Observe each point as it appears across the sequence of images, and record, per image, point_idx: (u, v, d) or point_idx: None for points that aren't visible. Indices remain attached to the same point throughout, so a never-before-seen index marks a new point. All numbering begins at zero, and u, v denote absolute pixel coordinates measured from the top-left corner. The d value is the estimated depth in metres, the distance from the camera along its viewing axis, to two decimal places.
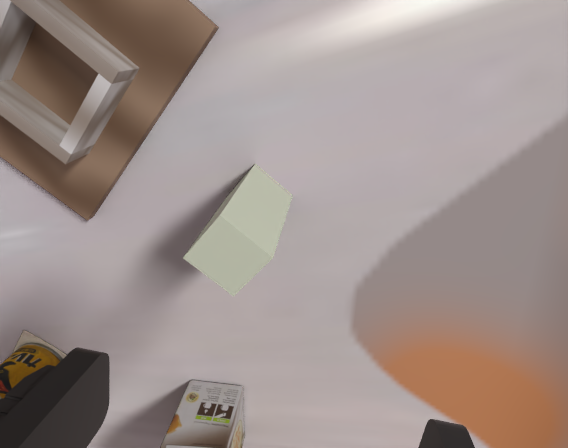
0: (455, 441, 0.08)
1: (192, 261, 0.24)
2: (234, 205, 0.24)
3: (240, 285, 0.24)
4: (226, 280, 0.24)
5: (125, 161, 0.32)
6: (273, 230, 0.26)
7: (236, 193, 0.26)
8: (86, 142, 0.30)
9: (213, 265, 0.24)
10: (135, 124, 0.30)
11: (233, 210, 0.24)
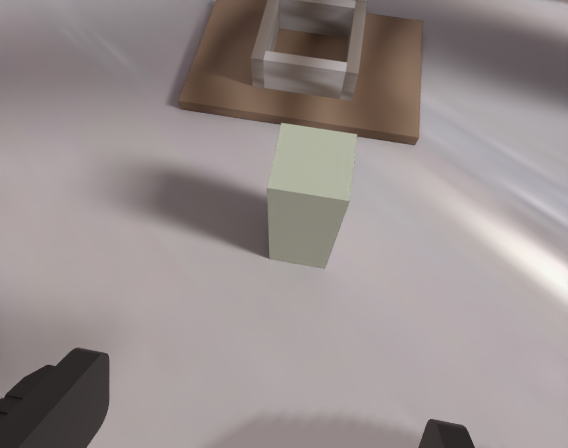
0: (455, 441, 0.08)
1: (284, 132, 0.20)
2: None
3: (287, 187, 0.19)
4: (284, 171, 0.19)
5: (264, 113, 0.32)
6: None
7: None
8: (272, 74, 0.32)
9: (294, 152, 0.20)
10: (304, 111, 0.32)
11: None
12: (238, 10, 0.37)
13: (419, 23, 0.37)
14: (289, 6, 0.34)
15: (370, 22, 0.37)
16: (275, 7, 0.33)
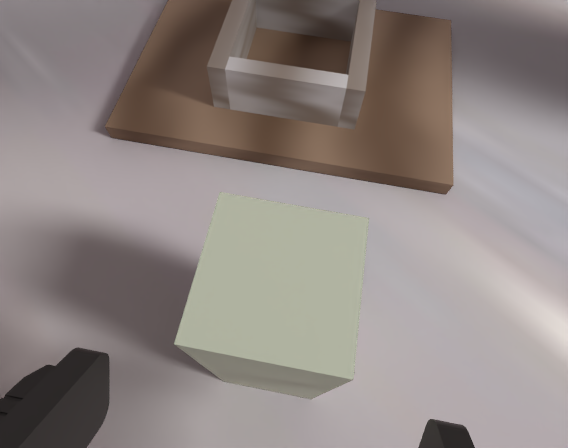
0: (455, 441, 0.08)
1: (223, 212, 0.10)
2: None
3: (219, 344, 0.09)
4: (215, 303, 0.09)
5: (227, 146, 0.22)
6: None
7: None
8: (239, 91, 0.22)
9: (240, 257, 0.10)
10: (285, 143, 0.22)
11: None
12: (202, 3, 0.28)
13: (446, 23, 0.27)
14: None
15: (381, 21, 0.27)
16: None
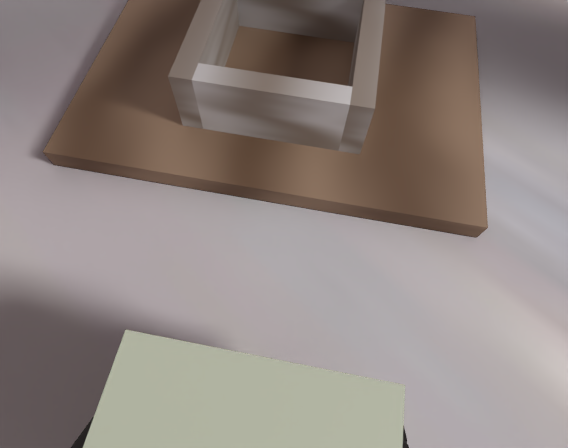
0: None
1: (127, 374, 0.05)
2: None
3: None
4: None
5: (198, 177, 0.17)
6: None
7: None
8: (213, 107, 0.17)
9: None
10: (272, 173, 0.18)
11: None
12: None
13: (470, 20, 0.23)
14: None
15: (390, 17, 0.23)
16: None
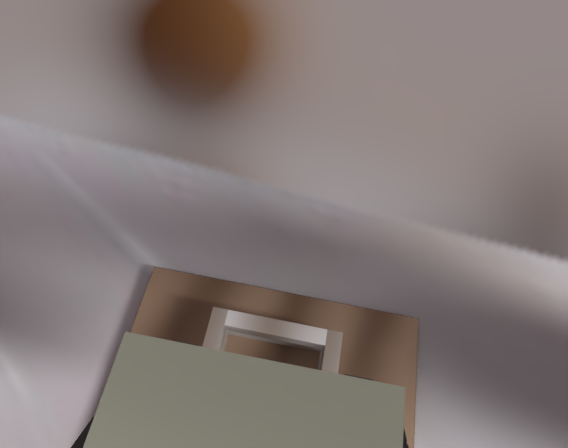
0: None
1: (127, 377, 0.05)
2: None
3: None
4: None
5: None
6: None
7: None
8: None
9: None
10: None
11: None
12: (177, 300, 0.28)
13: (414, 323, 0.28)
14: (238, 329, 0.25)
15: (350, 321, 0.28)
16: (217, 344, 0.24)
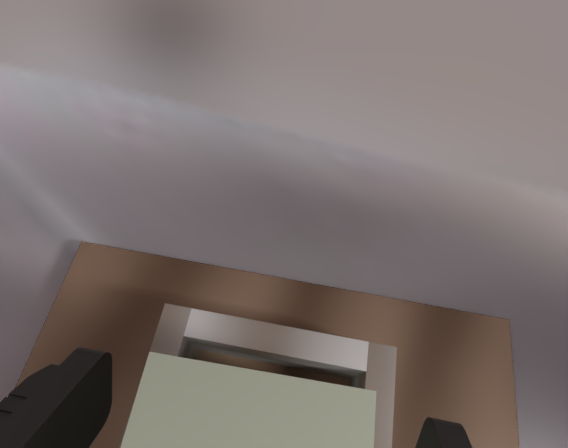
0: (452, 439, 0.08)
1: (152, 389, 0.07)
2: None
3: None
4: None
5: None
6: None
7: None
8: None
9: None
10: None
11: None
12: (114, 294, 0.17)
13: (503, 327, 0.17)
14: (209, 343, 0.14)
15: (398, 325, 0.17)
16: None
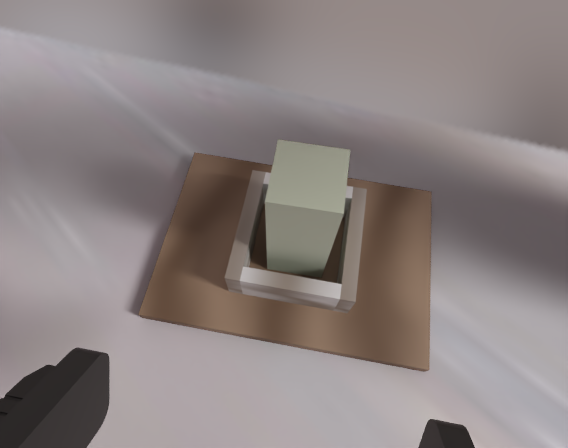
0: (455, 441, 0.08)
1: (280, 148, 0.21)
2: None
3: (285, 201, 0.20)
4: (281, 186, 0.20)
5: (241, 333, 0.27)
6: None
7: None
8: (251, 289, 0.26)
9: (290, 167, 0.21)
10: (289, 329, 0.27)
11: None
12: (216, 178, 0.32)
13: (427, 195, 0.32)
14: None
15: (371, 194, 0.32)
16: (257, 197, 0.28)
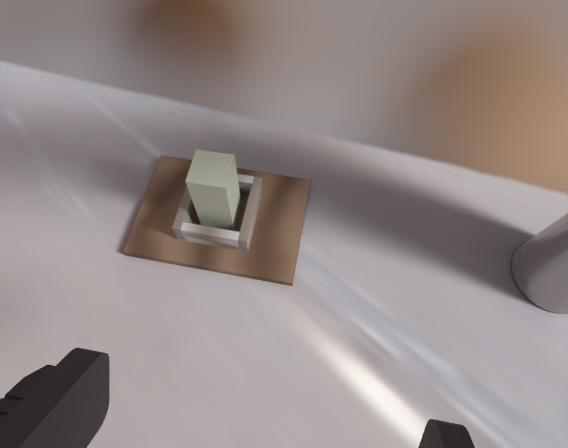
0: (455, 441, 0.08)
1: (196, 153, 0.39)
2: (235, 169, 0.41)
3: (195, 181, 0.38)
4: (194, 173, 0.38)
5: (183, 262, 0.45)
6: (229, 197, 0.41)
7: None
8: (189, 236, 0.45)
9: (200, 164, 0.39)
10: (212, 260, 0.45)
11: (234, 167, 0.41)
12: (174, 171, 0.50)
13: (308, 182, 0.50)
14: None
15: (271, 181, 0.50)
16: None
